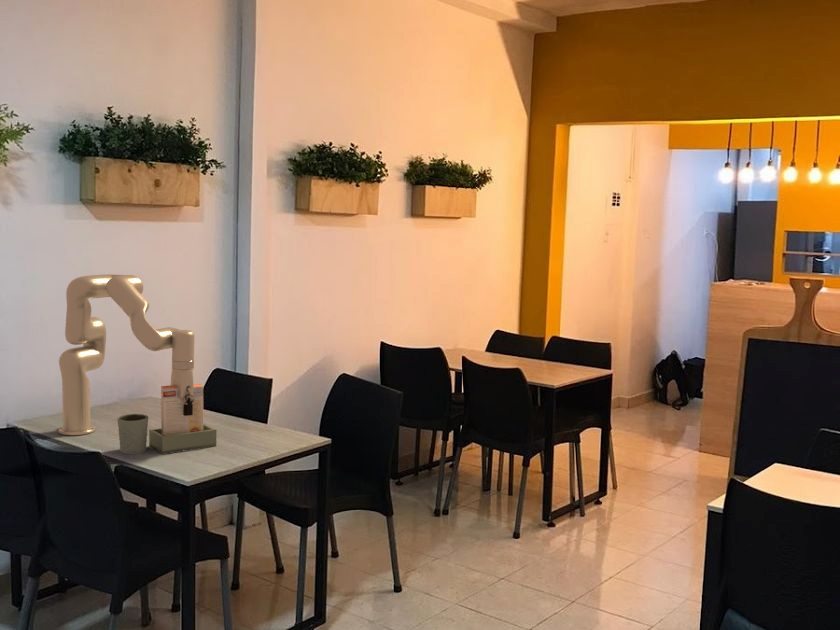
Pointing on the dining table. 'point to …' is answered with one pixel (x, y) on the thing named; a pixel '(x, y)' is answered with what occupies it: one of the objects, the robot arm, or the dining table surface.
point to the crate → (182, 440)
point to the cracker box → (180, 411)
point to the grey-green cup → (133, 433)
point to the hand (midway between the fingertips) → (182, 412)
